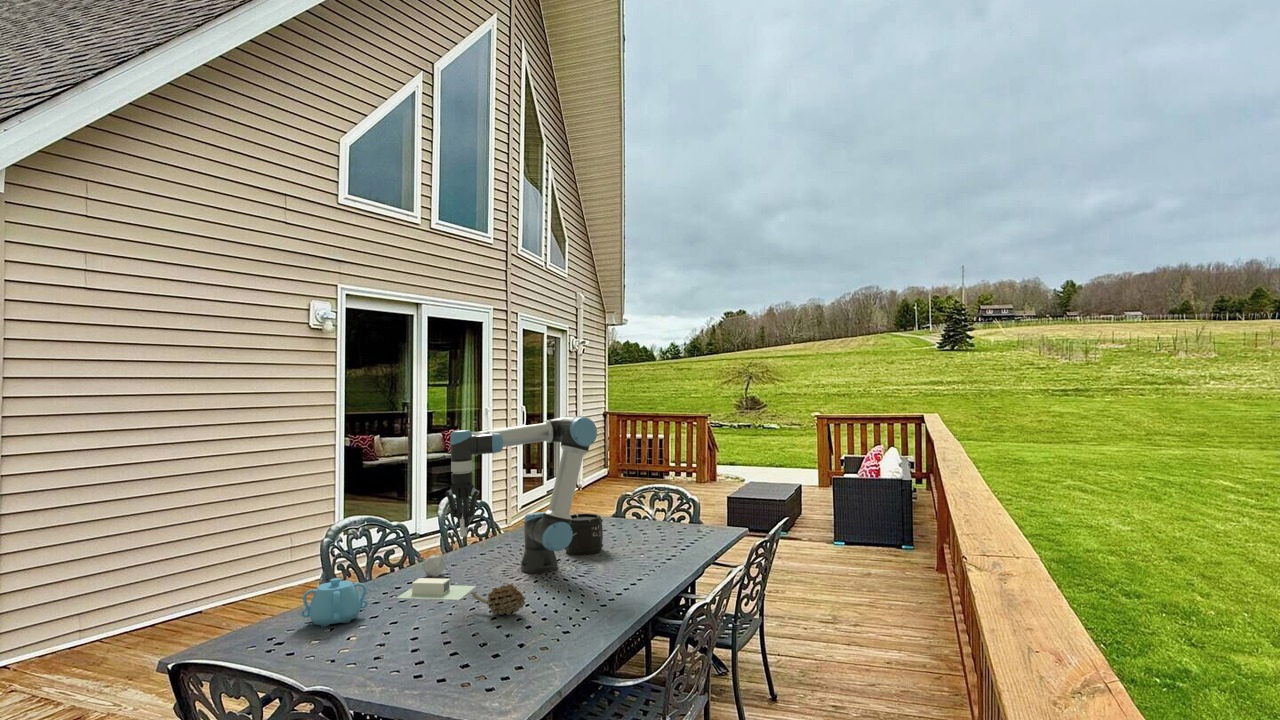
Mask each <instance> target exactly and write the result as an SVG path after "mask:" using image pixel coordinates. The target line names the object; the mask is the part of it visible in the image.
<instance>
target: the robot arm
mask: <svg viewBox="0 0 1280 720" xmlns="http://www.w3.org/2000/svg"><path fill="white" fill-rule="evenodd" d="M597 437H598V427H597V425H596V424H595V422H594V421H593V420H592V419H591V418H588V417H585V416H582V415H581V416H578V415H577V416H574V415H566V416H562V417H558V418H553V419H546V420H544V422H543V423H542V422H541V423H535V424H528V425H527V424H526V425H520V426H519V425H518V426H512V427H505V428H497V429H496V428H495V429H488V430H482V431H471V430H469V429H463V430H462V429H460V430H453V431H452V432H451V433H450V437H449V438H450V443H449V445H450V467H451V468H450V472H451V486H450V489H449V490H447V491H445V492H444V494H445V496H446V498H447V500H448V504H449V509H450V512H451V515H452V517H453V518H456V520H457V528H459V531H460V532H459V533H460V534H459V536H460V538H464V537H466V536H468V527H470V518H471V517H473V516H475V510H476V506H477V505H476V504H477V500H478V496H479V495H480V493H481V491H480V489H476V488H475V487H474V484H473V481H474V480H473V472H472V471H473V456H476V455H486V454H487V455H488V454H497V453H500V452H502V451H503V449H504V448H507V447H513V446H520V445H526V444H534V443H541V442H547V443H548V444H549V443H551V444H552V443H560V448H561V449H562V454H561V457H560V460H559V466H558V470H557V472H556V478H555V482H554V485H553V489H552V493H551V497H550V501H549V506H548V509H546V510H544V511H540V512H539V511H538V512H532V513H527V514H526V515H524V521H523V524H524V526H523V527H524V528H523V529H524V552H523V556H522V559H521V562H520V571H521V572H524V573H529V574H543V573H549V572H552V571H554V570H555V571H556V570H557V569H558V560H557V556H556V554H555V552H560V551H563V550H565V548H566V547H567V546H568V545H569V544H570V542H571V540H572V536H573V532H572V529H571V527H570V524H571V520H572V518H571V516H570V515H571V514H570V510H571V508H572V504H573V503H572V502H573V499H574V495H575V492H576V486H577V484H578V479H579V474H580V471H581V467H582V463H583V458H584V456H585V455H586V454H588V453H589V449H590V446H591V445H593V444H594V443H595V442H596V439H597ZM471 494H472V496H471V499H470V495H471ZM454 496H455V498H454ZM455 500H456V501H455ZM470 500H471V501H470Z"/></svg>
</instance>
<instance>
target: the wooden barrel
mask: <svg viewBox="0 0 1280 720" xmlns="http://www.w3.org/2000/svg"><path fill="white" fill-rule="evenodd" d="M569 515H570V516H571V518H572V520H571V524H570V527H571V529H572V532H573V536H572V540H571V542H570V544H569V545H568V546H567V547H566V548H565V549H564V550H565V551H566V554H568V555H570V556H576V557H577V556H578V557H581V556H582V557H583V556H592V555H596V554H599V553H600V552H601V550H602V549H603V547H604V544H603V538H604V535H603V531H604V530H603V522H604V520H603V519H602V518H601V515H599V514H596V513H577V514H576V513H575V514H574V513H573V514H569Z"/></svg>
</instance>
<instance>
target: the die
mask: <svg viewBox="0 0 1280 720" xmlns="http://www.w3.org/2000/svg"><path fill="white" fill-rule="evenodd" d="M421 565H422V568H423V571H424V573H425V575H426V577H431V576H432V578H437V577H439V576H440V575H441V574H442V573H443V572H444V571H445V570H446V568H447V567H446V563H445V561H444V559H443V557H442V555H433V554H431V555H429V557H427V559H426V560H425V561H424V562H423V563H422V564H421Z"/></svg>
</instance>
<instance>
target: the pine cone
mask: <svg viewBox="0 0 1280 720" xmlns="http://www.w3.org/2000/svg"><path fill="white" fill-rule="evenodd" d="M471 595H472V597H473V598H474V599H476V600H477V601H479V602H481V603H483V604H486V605H487V606H488V609H490V612H491V613H492V614H493V615H495V614H499V615H502V616H503V615H505V614H506V615H508V616H509V615H510V614H512V612H513V613H517V612H519V611H520V609H521V608H522V609H523V607H524V606H525V604H526V601H525V599H526V596H524V595H523V592H522V591H521V590H519V589H518V588H517V586H514V585H513V584H510V583H507V584H506V585H505V584H503V585H501V586H500V587H495V588H494V589H492V591H491V592H489V593H488V596H487V599H485V598H483V597H481V596H479V594H477V593H476V592H475V591H472V592H471Z"/></svg>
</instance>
